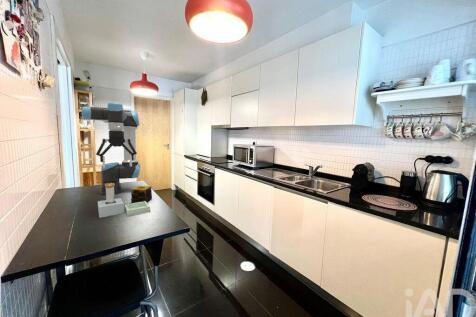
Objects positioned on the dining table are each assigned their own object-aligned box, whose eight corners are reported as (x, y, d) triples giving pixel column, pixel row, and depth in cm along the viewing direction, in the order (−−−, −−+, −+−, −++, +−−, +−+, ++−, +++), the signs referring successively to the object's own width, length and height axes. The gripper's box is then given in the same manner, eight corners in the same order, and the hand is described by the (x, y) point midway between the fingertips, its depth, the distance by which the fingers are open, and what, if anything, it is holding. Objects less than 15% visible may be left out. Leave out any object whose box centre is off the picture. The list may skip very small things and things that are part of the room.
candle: (145, 204, 134) (145, 189, 133) (130, 203, 134) (130, 189, 133) (152, 199, 144) (152, 185, 143) (138, 199, 144) (138, 185, 143)
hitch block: (98, 211, 120) (97, 201, 119) (121, 207, 127) (120, 198, 126) (99, 217, 110) (98, 207, 110) (124, 213, 118) (123, 203, 117)
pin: (105, 211, 119) (104, 183, 117) (115, 210, 122) (114, 182, 120) (106, 214, 115) (105, 185, 114) (116, 212, 118) (114, 184, 116)
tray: (124, 209, 123) (124, 204, 123) (145, 206, 130) (145, 201, 130) (127, 216, 113) (127, 210, 113) (150, 211, 121) (150, 206, 120)
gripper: (89, 129, 105) (92, 169, 107) (141, 131, 121) (142, 166, 123) (89, 129, 111) (91, 167, 113) (138, 131, 126) (139, 164, 129)
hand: (117, 166), depth 118 cm, fingers open, 13 cm apart
